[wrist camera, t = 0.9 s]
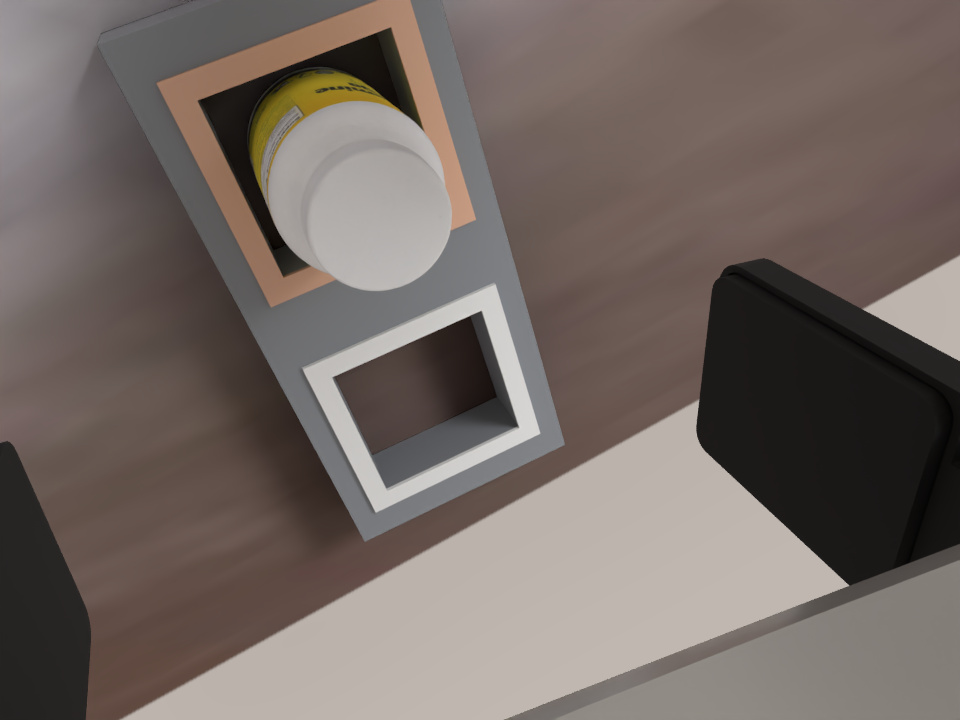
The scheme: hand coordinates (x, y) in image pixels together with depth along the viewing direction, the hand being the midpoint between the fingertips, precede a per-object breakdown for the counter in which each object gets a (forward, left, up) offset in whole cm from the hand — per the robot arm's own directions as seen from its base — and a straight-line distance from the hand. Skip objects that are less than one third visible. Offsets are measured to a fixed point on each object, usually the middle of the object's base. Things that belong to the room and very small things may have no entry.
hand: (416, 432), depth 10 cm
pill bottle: (-2, +3, -26) cm, 26 cm away
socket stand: (-2, +10, -25) cm, 27 cm away
